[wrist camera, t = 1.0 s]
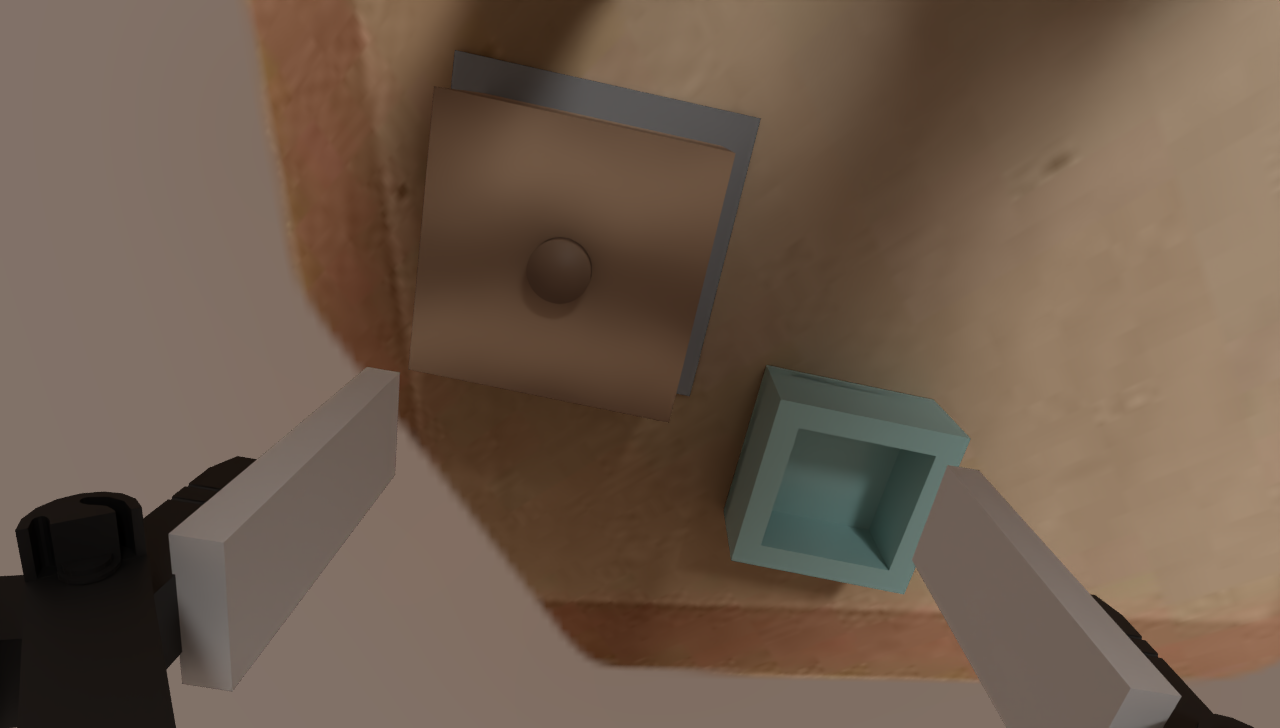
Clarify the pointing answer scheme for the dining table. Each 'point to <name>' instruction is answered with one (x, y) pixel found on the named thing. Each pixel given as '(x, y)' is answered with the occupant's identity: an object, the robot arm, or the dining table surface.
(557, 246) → the lid
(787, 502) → the open square box
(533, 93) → the mat
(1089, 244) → the dining table surface
